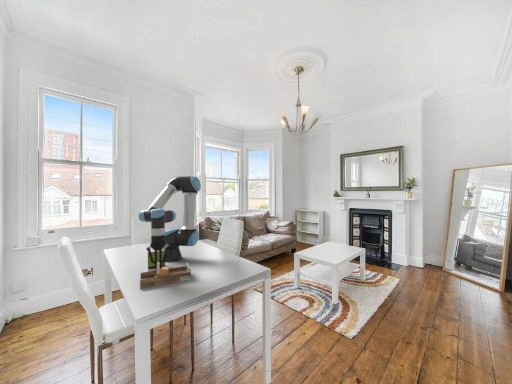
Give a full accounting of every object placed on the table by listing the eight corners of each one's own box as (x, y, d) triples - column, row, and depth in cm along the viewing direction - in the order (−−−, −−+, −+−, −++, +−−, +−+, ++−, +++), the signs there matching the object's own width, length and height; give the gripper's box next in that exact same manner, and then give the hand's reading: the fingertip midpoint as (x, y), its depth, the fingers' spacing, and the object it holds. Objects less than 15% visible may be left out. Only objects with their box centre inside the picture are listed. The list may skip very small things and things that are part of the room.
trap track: (140, 280, 130) (140, 269, 130) (187, 272, 142) (187, 262, 142) (140, 288, 120) (139, 276, 120) (190, 279, 132) (190, 268, 132)
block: (159, 274, 133) (159, 267, 133) (168, 272, 136) (168, 266, 136) (159, 276, 129) (159, 270, 129) (168, 275, 131) (168, 268, 131)
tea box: (150, 267, 152) (149, 246, 152) (165, 265, 156) (165, 244, 156) (147, 275, 138) (147, 251, 138) (164, 272, 142) (164, 250, 142)
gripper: (145, 237, 124) (145, 278, 125) (170, 235, 130) (170, 274, 130) (146, 234, 131) (146, 273, 132) (169, 232, 137) (169, 270, 137)
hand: (158, 273), depth 131 cm, fingers closed
